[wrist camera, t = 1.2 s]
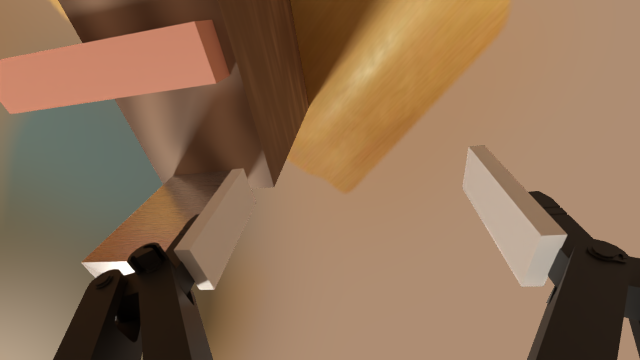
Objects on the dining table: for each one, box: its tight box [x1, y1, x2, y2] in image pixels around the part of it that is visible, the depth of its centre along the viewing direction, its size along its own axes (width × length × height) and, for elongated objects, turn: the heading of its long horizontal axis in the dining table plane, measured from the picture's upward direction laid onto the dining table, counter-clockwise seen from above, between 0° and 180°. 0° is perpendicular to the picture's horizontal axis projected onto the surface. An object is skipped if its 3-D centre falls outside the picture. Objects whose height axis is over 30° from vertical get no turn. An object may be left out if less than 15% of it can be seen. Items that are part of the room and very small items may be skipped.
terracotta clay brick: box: [0, 20, 230, 114], centre depth 24 cm, size 22×4×3 cm, turn 99°
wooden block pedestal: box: [58, 0, 309, 189], centre depth 39 cm, size 14×21×30 cm, turn 9°
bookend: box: [81, 170, 231, 278], centre depth 26 cm, size 8×2×13 cm, turn 99°
